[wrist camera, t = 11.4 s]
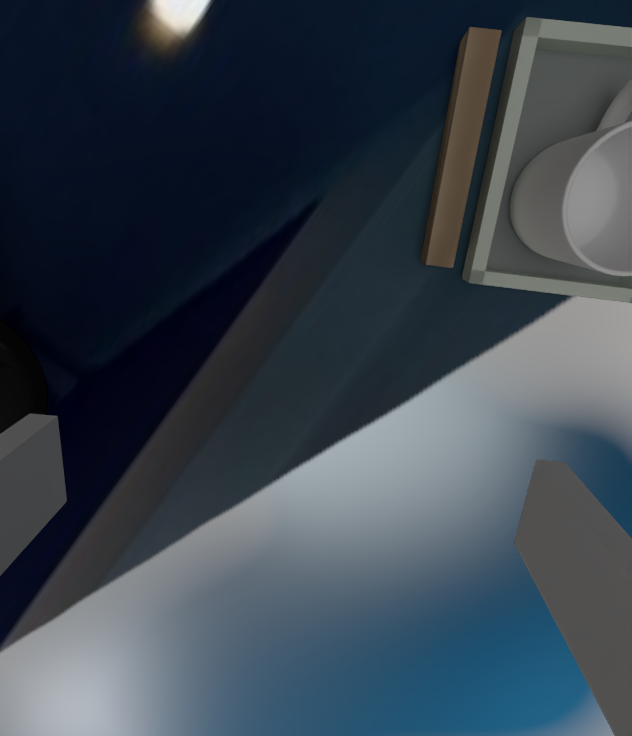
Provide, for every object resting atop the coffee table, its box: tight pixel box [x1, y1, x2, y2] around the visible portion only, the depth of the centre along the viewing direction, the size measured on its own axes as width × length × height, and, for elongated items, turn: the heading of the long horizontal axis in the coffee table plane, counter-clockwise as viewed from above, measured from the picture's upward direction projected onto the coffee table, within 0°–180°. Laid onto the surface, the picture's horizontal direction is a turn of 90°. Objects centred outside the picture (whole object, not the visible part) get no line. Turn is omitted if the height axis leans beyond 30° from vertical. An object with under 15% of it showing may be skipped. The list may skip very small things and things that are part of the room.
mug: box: [510, 79, 632, 276], centre depth 30 cm, size 12×8×10 cm
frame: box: [462, 17, 632, 303], centre depth 34 cm, size 13×17×2 cm
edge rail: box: [421, 27, 502, 268], centre depth 34 cm, size 2×15×3 cm, turn 173°
